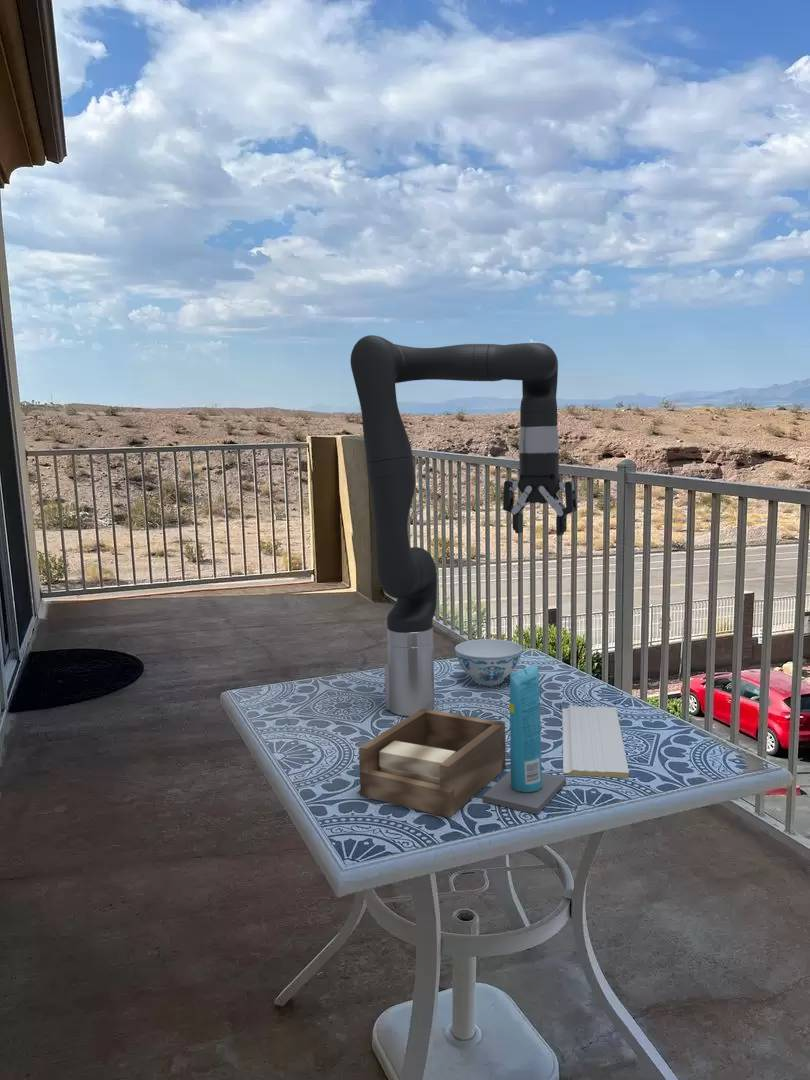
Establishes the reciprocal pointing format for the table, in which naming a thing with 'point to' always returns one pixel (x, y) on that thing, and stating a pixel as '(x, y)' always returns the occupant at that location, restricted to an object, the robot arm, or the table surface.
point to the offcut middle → (412, 775)
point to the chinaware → (488, 659)
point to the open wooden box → (458, 774)
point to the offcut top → (414, 758)
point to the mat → (524, 794)
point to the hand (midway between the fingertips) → (539, 534)
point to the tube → (525, 730)
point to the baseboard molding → (593, 742)
